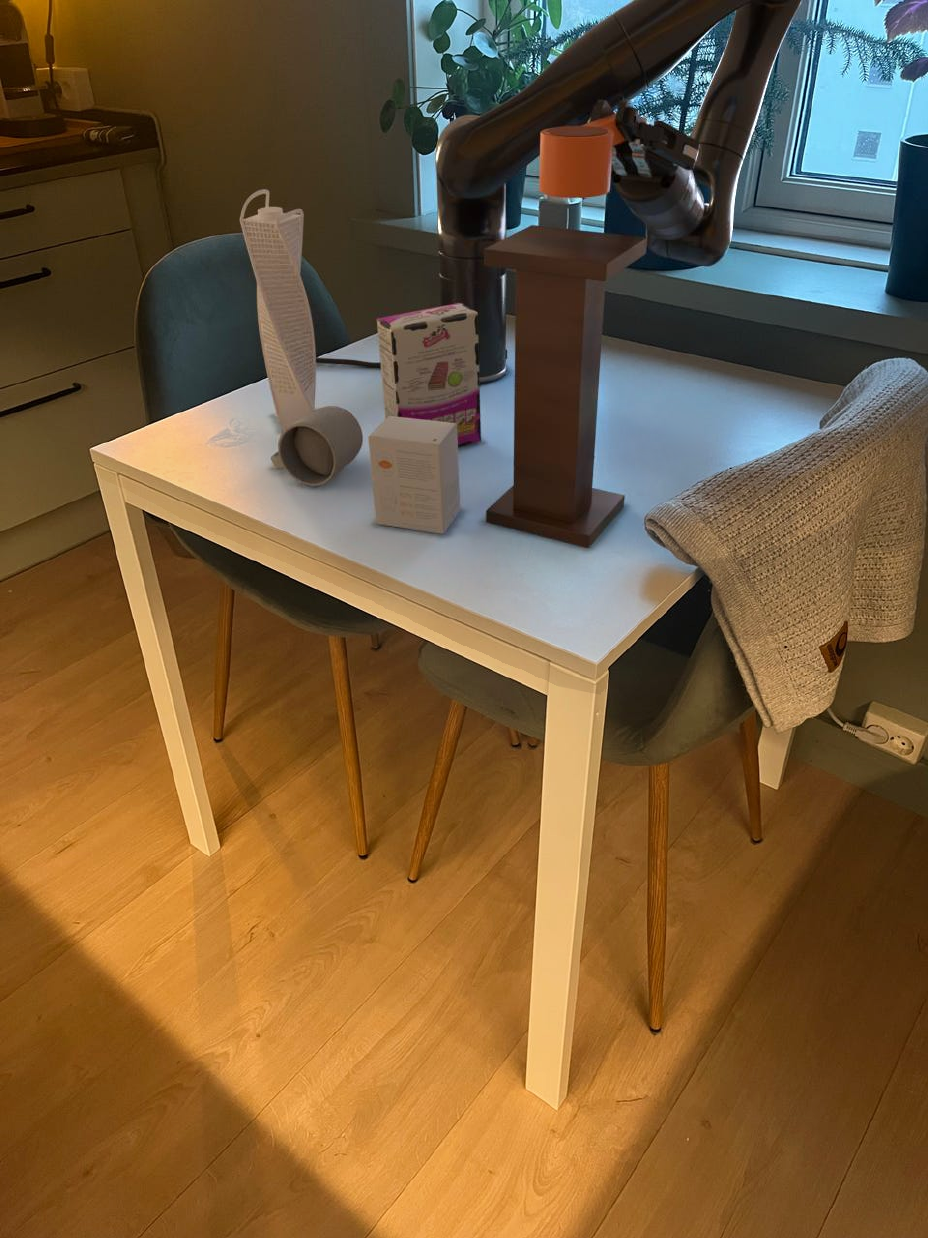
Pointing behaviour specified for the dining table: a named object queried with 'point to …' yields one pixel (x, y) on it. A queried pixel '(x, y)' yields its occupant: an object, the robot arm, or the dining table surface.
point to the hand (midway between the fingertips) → (609, 111)
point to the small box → (415, 473)
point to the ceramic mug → (319, 445)
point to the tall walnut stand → (558, 378)
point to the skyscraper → (282, 308)
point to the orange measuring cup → (578, 159)
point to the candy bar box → (433, 367)
